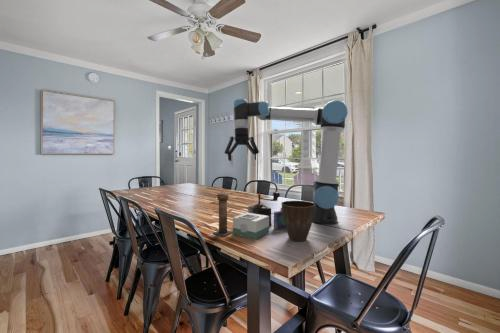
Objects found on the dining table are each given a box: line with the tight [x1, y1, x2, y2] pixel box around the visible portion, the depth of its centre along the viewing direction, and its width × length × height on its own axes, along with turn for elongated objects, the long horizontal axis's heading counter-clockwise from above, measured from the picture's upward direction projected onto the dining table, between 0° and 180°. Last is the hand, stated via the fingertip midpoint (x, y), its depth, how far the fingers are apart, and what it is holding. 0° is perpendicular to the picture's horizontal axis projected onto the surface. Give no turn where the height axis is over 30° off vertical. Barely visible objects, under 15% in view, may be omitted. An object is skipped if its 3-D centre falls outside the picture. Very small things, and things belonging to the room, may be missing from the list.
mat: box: [212, 229, 233, 238], centre depth 118 cm, size 7×7×1 cm
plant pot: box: [280, 200, 315, 242], centre depth 110 cm, size 15×15×16 cm
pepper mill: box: [247, 191, 281, 227], centre depth 134 cm, size 16×11×18 cm
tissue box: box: [232, 212, 270, 240], centre depth 118 cm, size 13×12×9 cm
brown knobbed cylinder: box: [216, 192, 229, 234], centre depth 117 cm, size 5×5×18 cm
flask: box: [273, 207, 287, 231], centre depth 125 cm, size 9×3×11 cm, turn 109°
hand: (242, 166), depth 136 cm, fingers open, 13 cm apart
